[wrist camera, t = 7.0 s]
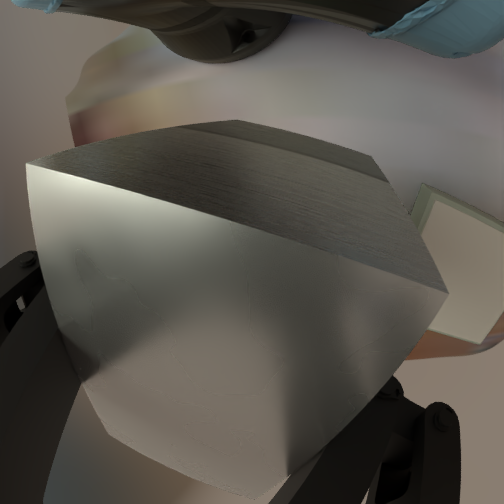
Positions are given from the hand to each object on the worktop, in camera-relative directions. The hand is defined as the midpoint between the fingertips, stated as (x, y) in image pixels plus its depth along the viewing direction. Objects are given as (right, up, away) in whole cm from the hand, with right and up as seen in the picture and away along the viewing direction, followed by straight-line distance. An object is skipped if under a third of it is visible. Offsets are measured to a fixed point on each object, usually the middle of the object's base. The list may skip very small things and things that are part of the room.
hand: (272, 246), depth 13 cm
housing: (0, 0, +1) cm, 1 cm away
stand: (+22, -2, +14) cm, 26 cm away
